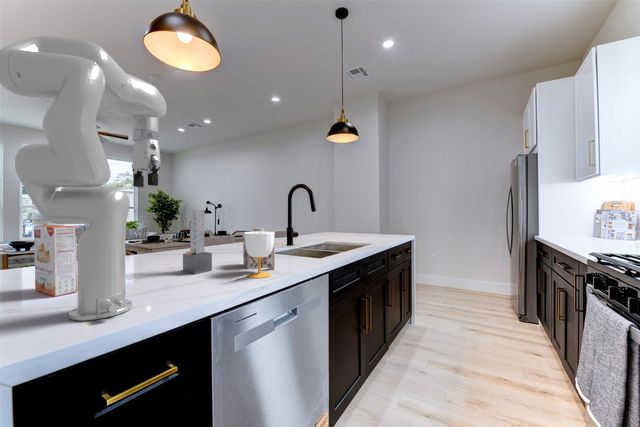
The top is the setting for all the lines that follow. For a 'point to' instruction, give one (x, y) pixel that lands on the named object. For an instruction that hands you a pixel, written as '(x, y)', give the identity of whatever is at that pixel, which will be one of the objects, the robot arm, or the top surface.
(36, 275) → the cracker box
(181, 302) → the top surface
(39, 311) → the top surface
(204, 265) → the stand base
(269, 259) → the decorative jar
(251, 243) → the cup
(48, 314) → the top surface
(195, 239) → the column
